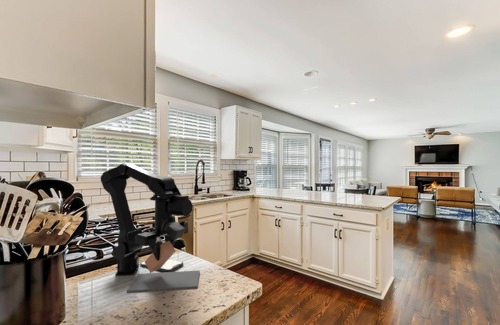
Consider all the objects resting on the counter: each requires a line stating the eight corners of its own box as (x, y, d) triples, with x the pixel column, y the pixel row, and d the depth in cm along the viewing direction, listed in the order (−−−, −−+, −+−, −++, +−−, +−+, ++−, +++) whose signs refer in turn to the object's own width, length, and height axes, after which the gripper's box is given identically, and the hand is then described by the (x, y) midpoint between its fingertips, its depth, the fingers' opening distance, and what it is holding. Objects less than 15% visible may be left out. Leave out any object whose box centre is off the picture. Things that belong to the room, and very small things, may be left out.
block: (144, 262, 89) (159, 244, 85) (154, 258, 93) (169, 240, 89) (150, 272, 87) (165, 254, 84) (160, 268, 91) (175, 250, 87)
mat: (126, 292, 79) (126, 290, 79) (138, 275, 91) (138, 273, 91) (197, 288, 82) (197, 286, 82) (199, 272, 94) (199, 270, 94)
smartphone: (138, 267, 99) (169, 274, 92) (138, 263, 99) (169, 270, 92) (155, 259, 107) (184, 265, 100) (155, 256, 107) (184, 261, 100)
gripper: (157, 221, 75) (157, 273, 75) (199, 211, 91) (199, 254, 91) (134, 217, 81) (133, 265, 81) (177, 208, 97) (177, 248, 97)
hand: (163, 258), depth 87 cm, fingers closed on block, 4 cm apart
